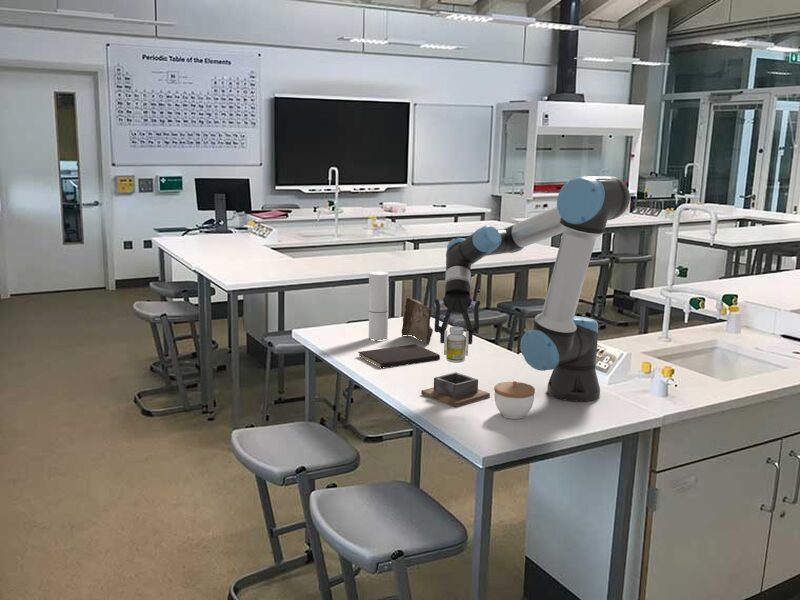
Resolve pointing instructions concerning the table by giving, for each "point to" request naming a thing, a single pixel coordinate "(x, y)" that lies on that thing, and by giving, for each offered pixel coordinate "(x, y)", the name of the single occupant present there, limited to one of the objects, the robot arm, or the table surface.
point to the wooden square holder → (455, 390)
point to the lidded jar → (514, 399)
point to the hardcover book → (399, 355)
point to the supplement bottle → (456, 345)
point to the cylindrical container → (378, 305)
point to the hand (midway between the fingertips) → (455, 352)
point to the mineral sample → (417, 320)
